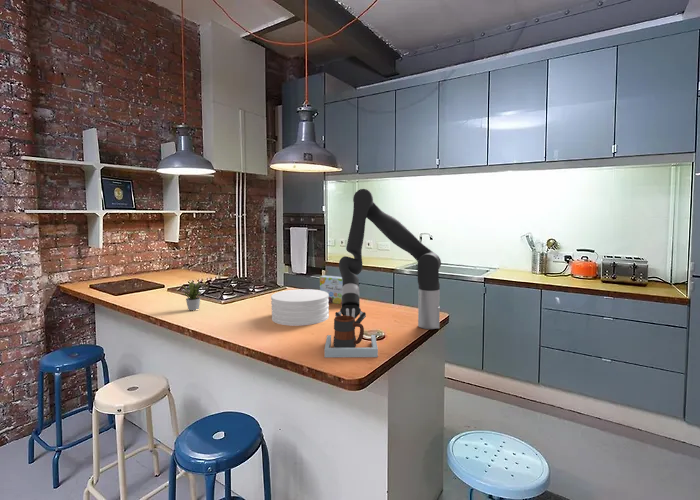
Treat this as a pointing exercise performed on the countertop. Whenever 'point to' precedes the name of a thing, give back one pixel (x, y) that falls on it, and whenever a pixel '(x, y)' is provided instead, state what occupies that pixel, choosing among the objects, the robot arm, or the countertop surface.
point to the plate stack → (300, 307)
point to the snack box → (332, 288)
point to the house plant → (193, 296)
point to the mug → (346, 332)
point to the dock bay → (351, 350)
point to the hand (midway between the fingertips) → (350, 334)
